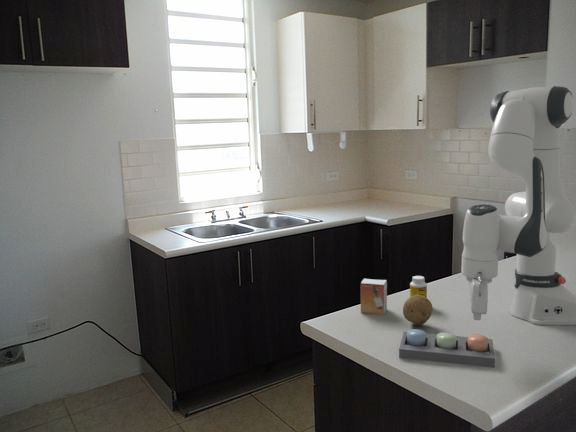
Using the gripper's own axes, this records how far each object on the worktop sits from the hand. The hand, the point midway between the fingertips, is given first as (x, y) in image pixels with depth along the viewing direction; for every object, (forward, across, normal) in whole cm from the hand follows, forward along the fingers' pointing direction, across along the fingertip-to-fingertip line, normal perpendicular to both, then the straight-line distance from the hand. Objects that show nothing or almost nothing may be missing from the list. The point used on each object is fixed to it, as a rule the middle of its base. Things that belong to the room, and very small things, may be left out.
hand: (477, 318), depth 133 cm
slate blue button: (+9, 0, +15) cm, 18 cm away
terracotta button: (+9, 0, -1) cm, 9 cm away
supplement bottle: (+11, +35, +18) cm, 41 cm away
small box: (+11, +27, +32) cm, 43 cm away
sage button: (+9, 0, +7) cm, 12 cm away
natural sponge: (+11, +17, +16) cm, 26 cm away
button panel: (+11, 0, +7) cm, 13 cm away
